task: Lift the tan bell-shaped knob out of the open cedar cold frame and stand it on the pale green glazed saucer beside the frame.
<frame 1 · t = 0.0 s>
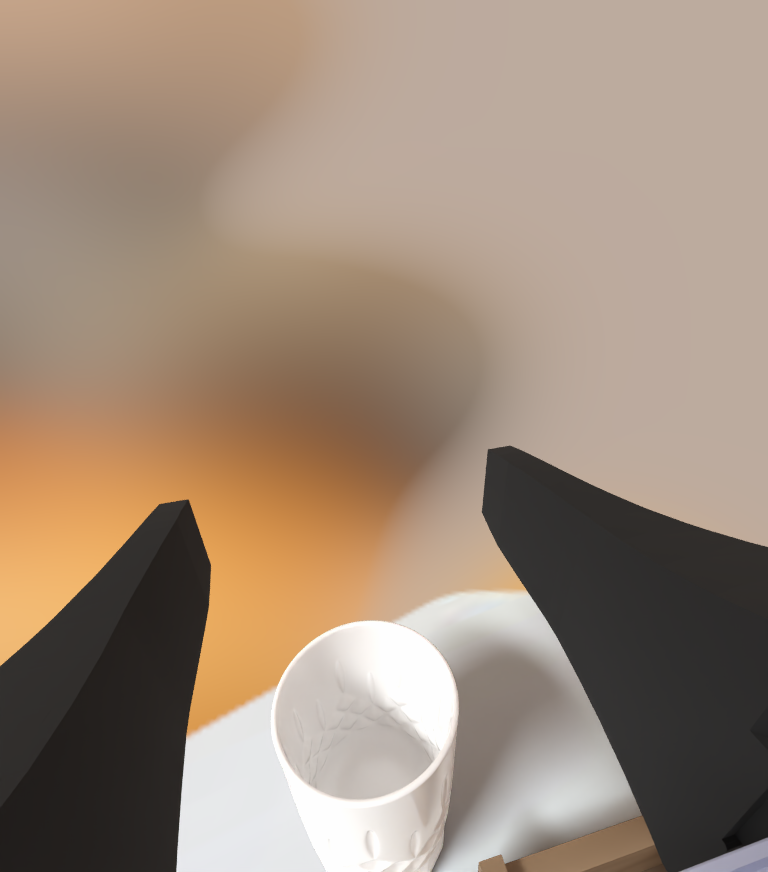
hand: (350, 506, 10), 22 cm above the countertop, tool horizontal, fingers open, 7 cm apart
white cup: (380, 819, 23), on the countertop
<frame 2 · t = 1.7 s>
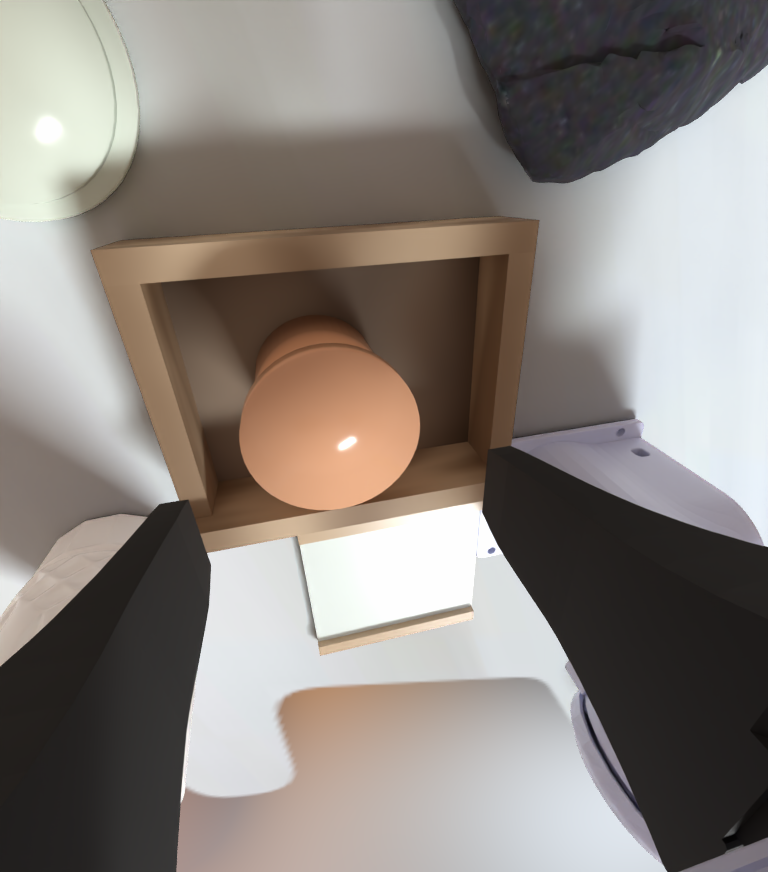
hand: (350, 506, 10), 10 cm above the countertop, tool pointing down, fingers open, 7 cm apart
tan bell-shaped knob: (317, 374, 18), point 1 cm above the countertop, touching cold frame
frame lid: (392, 569, 26), on the countertop
cold frame: (338, 367, 19), on the countertop
white cup: (132, 562, 21), on the countertop
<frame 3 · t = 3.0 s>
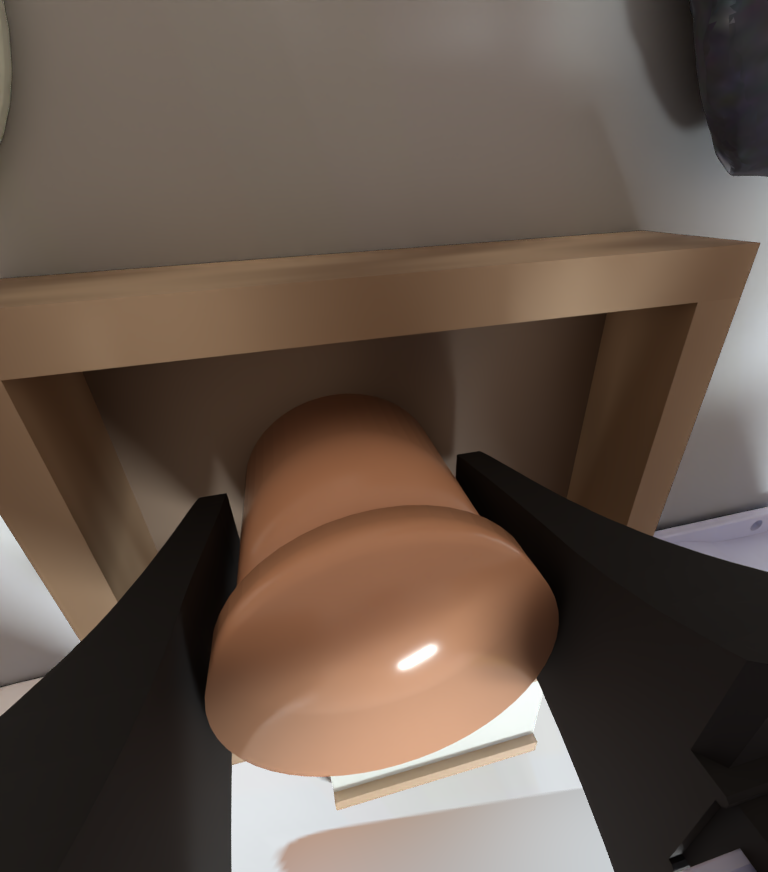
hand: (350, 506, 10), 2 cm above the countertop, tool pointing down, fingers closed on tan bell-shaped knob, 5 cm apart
tan bell-shaped knob: (344, 480, 11), point 1 cm above the countertop, touching cold frame, gripper
frame lid: (435, 700, 19), on the countertop
cold frame: (376, 462, 12), on the countertop
white cup: (71, 727, 15), on the countertop
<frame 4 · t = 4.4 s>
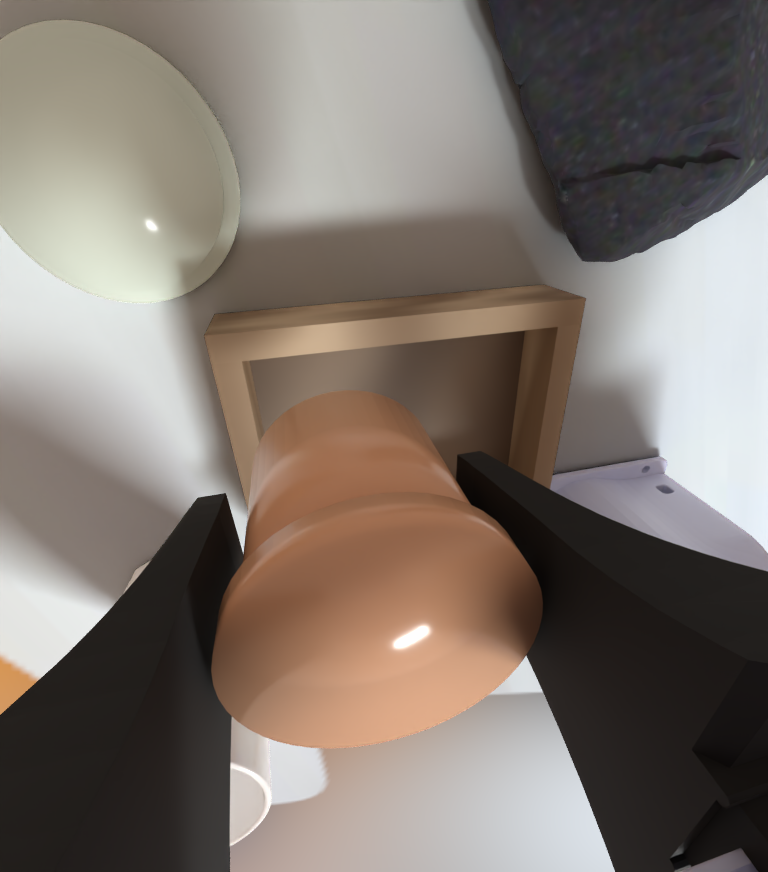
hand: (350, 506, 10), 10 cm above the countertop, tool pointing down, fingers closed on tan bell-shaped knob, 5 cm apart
tan bell-shaped knob: (346, 473, 12), point 8 cm above the countertop, touching gripper
saucer: (118, 181, 14), on the countertop
cold frame: (394, 416, 21), on the countertop
white cup: (197, 589, 23), on the countertop
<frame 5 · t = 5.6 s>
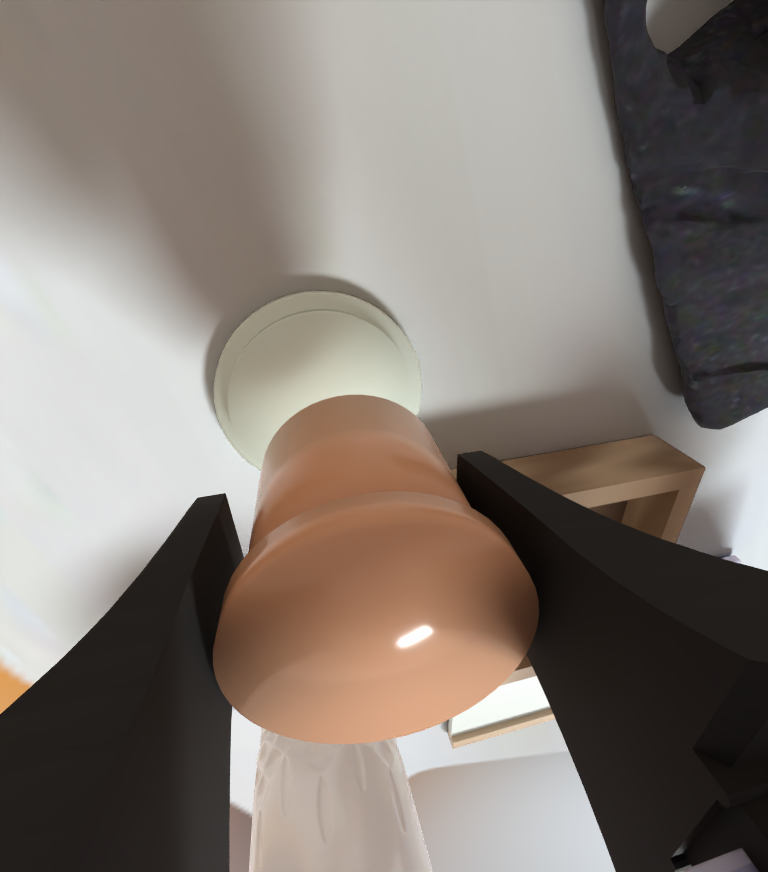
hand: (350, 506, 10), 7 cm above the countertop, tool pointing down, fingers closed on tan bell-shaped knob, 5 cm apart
tan bell-shaped knob: (352, 476, 12), point 5 cm above the countertop, touching gripper
saucer: (322, 394, 16), on the countertop
frame lid: (518, 676, 30), on the countertop
cold frame: (512, 543, 23), on the countertop
white cup: (321, 688, 26), on the countertop
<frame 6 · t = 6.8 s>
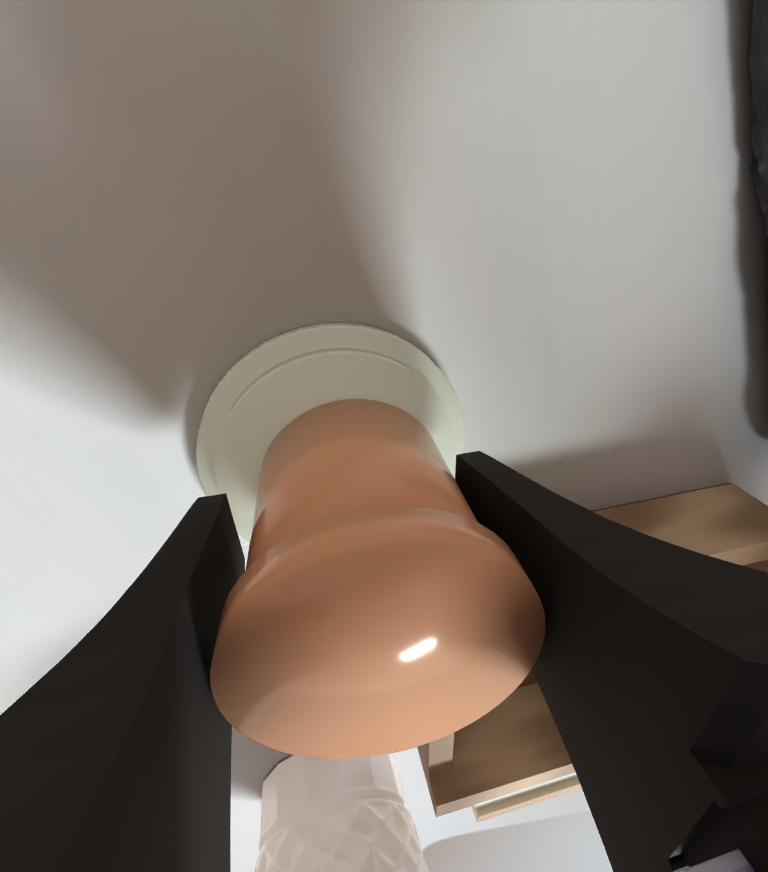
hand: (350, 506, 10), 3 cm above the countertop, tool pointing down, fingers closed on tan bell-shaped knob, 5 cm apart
tan bell-shaped knob: (353, 481, 12), point 1 cm above the countertop, touching gripper, saucer
saucer: (337, 451, 13), on the countertop
frame lid: (552, 742, 26), on the countertop
cold frame: (557, 608, 19), on the countertop
white cup: (329, 769, 22), on the countertop
when the fingers open (3 cm above the countertop, at t = 6.9 s): tan bell-shaped knob stays where it is, resting on saucer.
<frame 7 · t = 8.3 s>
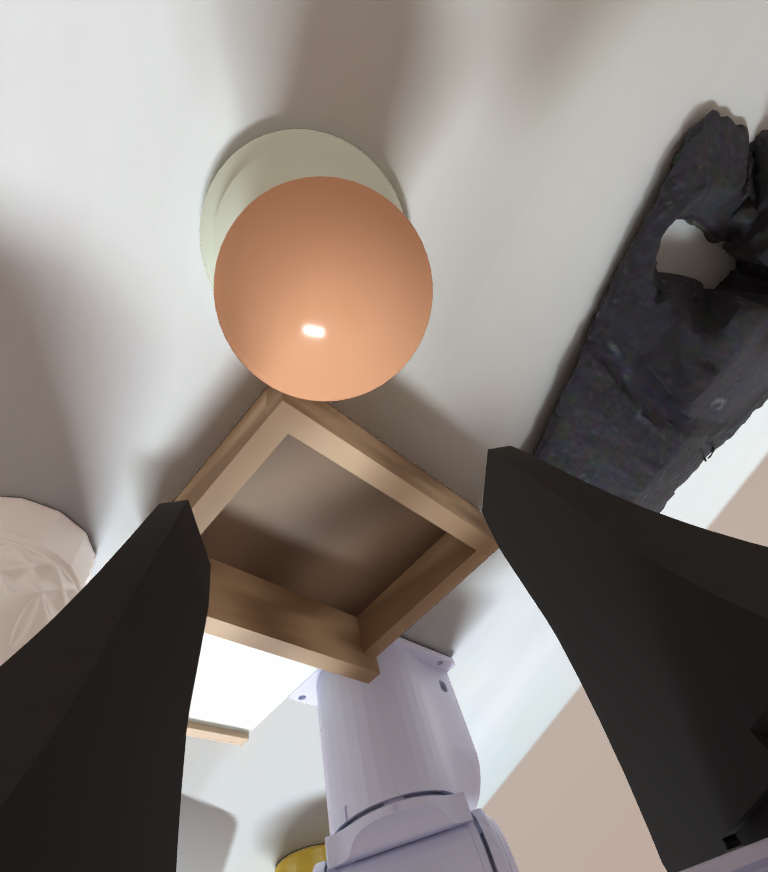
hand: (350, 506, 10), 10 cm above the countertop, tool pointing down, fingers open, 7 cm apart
tan bell-shaped knob: (311, 268, 16), point 1 cm above the countertop, touching saucer
saucer: (309, 252, 16), on the countertop
frame lid: (219, 672, 27), on the countertop
cold frame: (326, 522, 23), on the countertop
plant pot: (308, 856, 45), on the countertop
white cup: (14, 549, 20), on the countertop
dark slate chunk: (653, 375, 24), on the countertop
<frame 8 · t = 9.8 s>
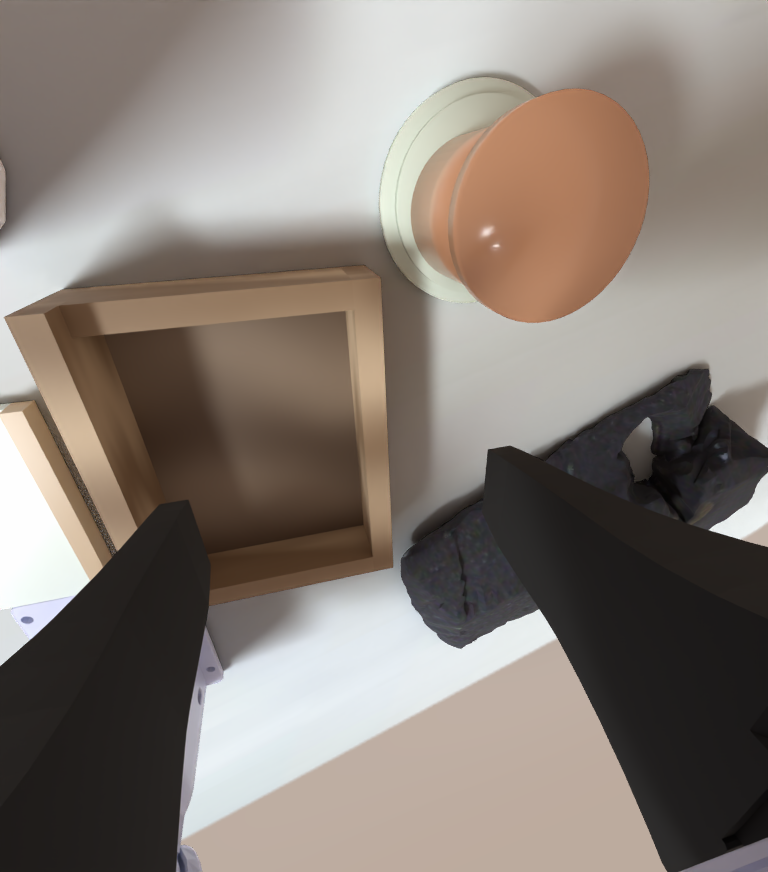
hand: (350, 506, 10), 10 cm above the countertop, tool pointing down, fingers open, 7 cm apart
tan bell-shaped knob: (473, 211, 16), point 1 cm above the countertop, touching saucer
saucer: (472, 202, 17), on the countertop
cold frame: (257, 435, 20), on the countertop
dark slate chunk: (557, 517, 29), on the countertop
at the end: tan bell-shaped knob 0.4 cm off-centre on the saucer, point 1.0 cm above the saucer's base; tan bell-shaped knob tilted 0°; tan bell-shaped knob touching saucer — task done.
